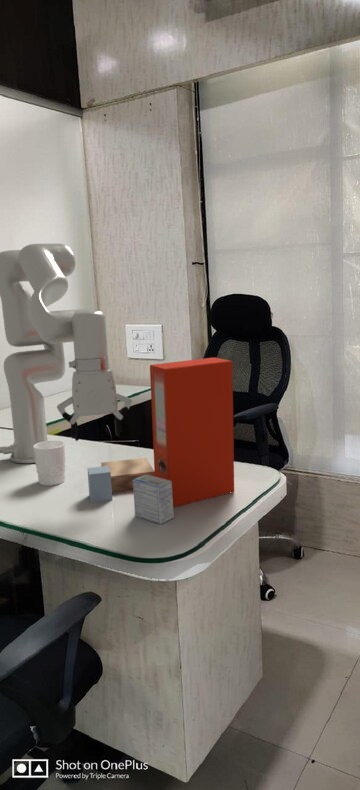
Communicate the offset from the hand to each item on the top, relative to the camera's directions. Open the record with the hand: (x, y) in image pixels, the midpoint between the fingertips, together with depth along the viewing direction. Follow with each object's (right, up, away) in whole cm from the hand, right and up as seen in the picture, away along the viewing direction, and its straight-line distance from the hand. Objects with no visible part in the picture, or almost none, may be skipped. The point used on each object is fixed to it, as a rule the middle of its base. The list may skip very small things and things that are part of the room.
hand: (97, 437), depth 143 cm
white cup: (-14, -13, +16) cm, 25 cm away
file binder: (+23, -14, +2) cm, 27 cm away
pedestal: (+6, -12, +14) cm, 19 cm away
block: (0, -15, +3) cm, 15 cm away
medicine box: (+14, -17, -10) cm, 24 cm away
